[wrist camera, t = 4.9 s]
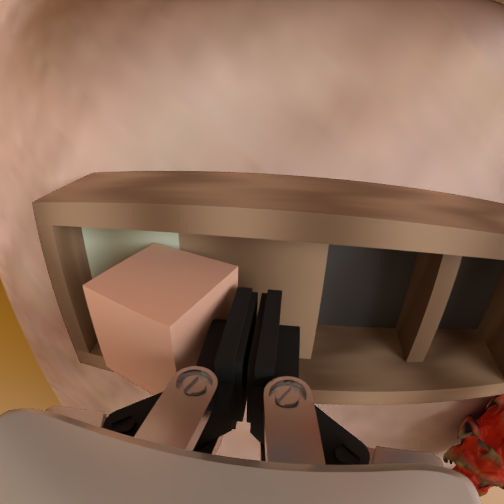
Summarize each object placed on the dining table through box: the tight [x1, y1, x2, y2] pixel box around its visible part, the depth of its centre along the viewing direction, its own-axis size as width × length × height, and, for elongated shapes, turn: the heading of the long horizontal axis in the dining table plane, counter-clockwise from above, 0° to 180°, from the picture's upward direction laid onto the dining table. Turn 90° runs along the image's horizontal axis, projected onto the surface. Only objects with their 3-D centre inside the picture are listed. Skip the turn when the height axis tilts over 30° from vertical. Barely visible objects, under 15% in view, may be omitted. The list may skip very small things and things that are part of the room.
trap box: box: [32, 171, 504, 405], centre depth 14 cm, size 24×9×5 cm, turn 89°
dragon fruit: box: [443, 394, 504, 497], centre depth 17 cm, size 8×8×12 cm
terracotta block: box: [82, 243, 238, 395], centre depth 12 cm, size 4×4×4 cm
